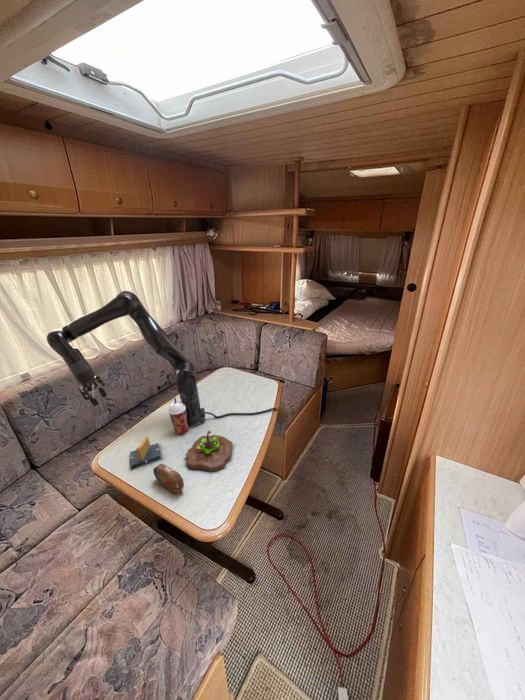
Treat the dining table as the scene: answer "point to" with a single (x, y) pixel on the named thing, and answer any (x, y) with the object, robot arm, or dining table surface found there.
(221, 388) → the dining table surface
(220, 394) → the dining table surface
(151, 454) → the tap plate
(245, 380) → the dining table surface
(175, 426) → the smoothie
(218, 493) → the dining table surface
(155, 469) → the tin
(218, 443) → the plant
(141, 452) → the tap lever
